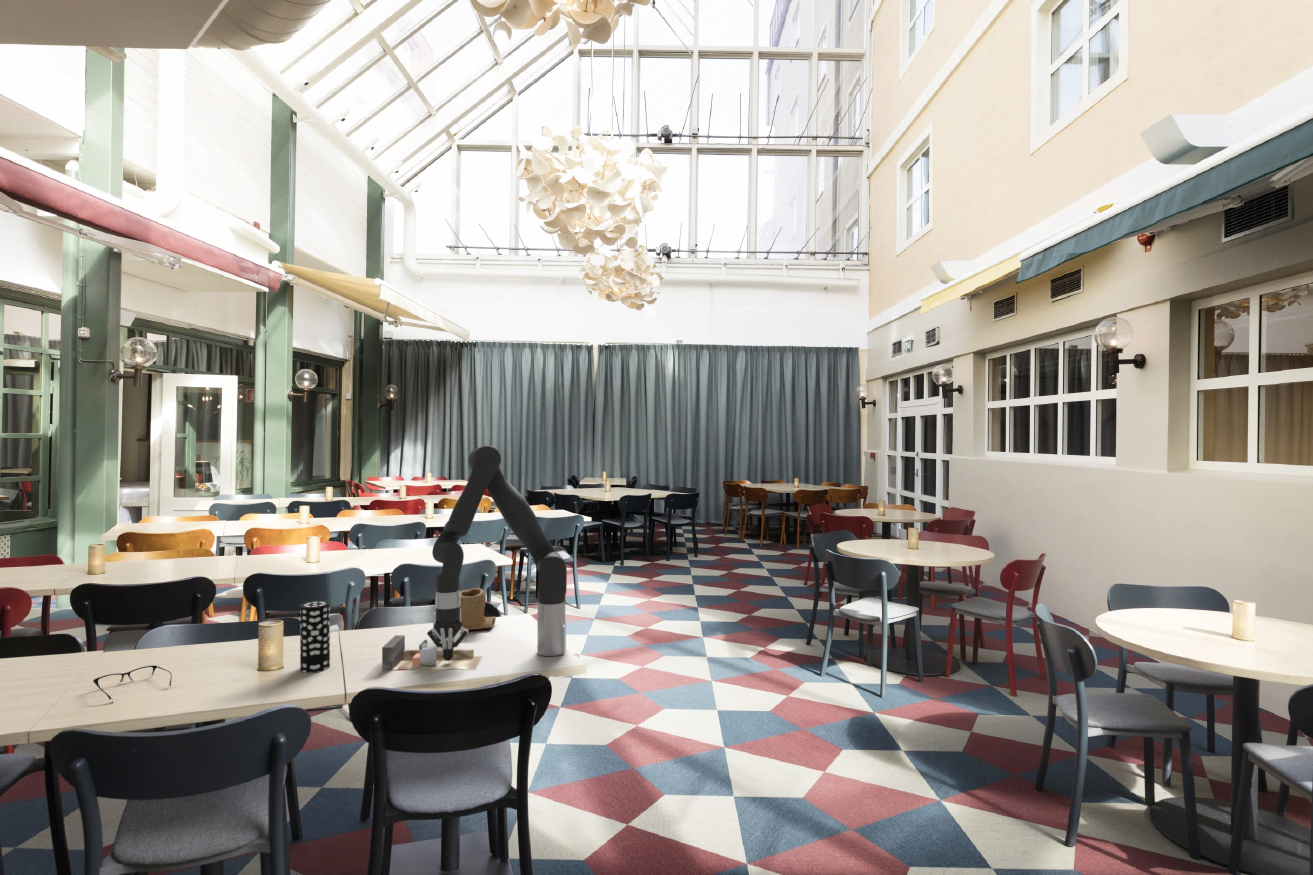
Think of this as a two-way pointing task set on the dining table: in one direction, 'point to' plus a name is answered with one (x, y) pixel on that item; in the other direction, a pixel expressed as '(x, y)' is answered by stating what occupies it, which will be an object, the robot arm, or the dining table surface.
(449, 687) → the dining table surface
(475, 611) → the tan piece
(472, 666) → the beige long open tray
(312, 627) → the white-spotted black cylinder
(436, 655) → the carriage
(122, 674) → the eyeglasses
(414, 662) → the pink eraser
